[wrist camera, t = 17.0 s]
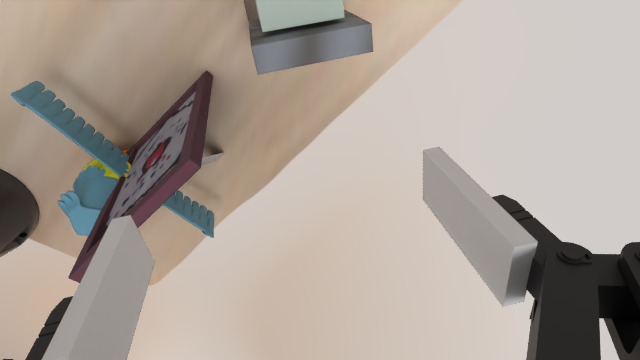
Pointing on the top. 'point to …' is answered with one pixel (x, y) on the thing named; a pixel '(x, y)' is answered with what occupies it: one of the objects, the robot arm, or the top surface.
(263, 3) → the cabinet box
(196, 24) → the top surface
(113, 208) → the picture frame
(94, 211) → the blue toy animal
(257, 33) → the grey bookend
